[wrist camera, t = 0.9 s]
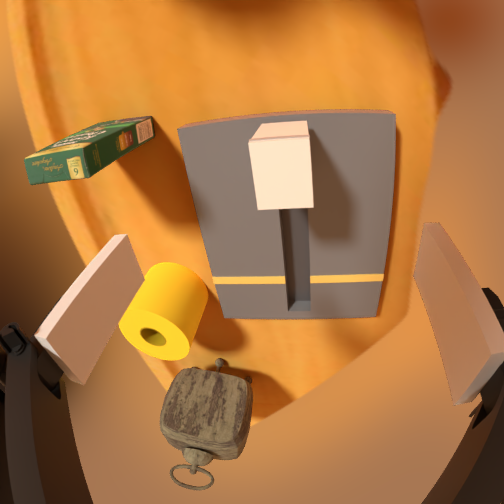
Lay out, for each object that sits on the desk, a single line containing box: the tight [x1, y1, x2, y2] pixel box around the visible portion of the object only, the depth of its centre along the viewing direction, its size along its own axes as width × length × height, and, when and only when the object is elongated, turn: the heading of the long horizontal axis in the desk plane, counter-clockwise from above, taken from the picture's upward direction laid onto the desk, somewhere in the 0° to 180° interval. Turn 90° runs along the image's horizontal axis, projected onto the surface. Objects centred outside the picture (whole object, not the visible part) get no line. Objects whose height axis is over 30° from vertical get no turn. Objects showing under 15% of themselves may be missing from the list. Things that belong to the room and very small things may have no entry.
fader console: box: [177, 109, 396, 319], centre depth 33 cm, size 26×21×3 cm
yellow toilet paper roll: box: [119, 262, 208, 360], centre depth 39 cm, size 10×10×9 cm
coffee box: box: [24, 116, 155, 185], centre depth 25 cm, size 8×3×13 cm, turn 90°
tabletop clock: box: [160, 358, 253, 490], centre depth 43 cm, size 14×9×25 cm, turn 87°
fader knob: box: [248, 121, 314, 210], centre depth 24 cm, size 5×4×10 cm
